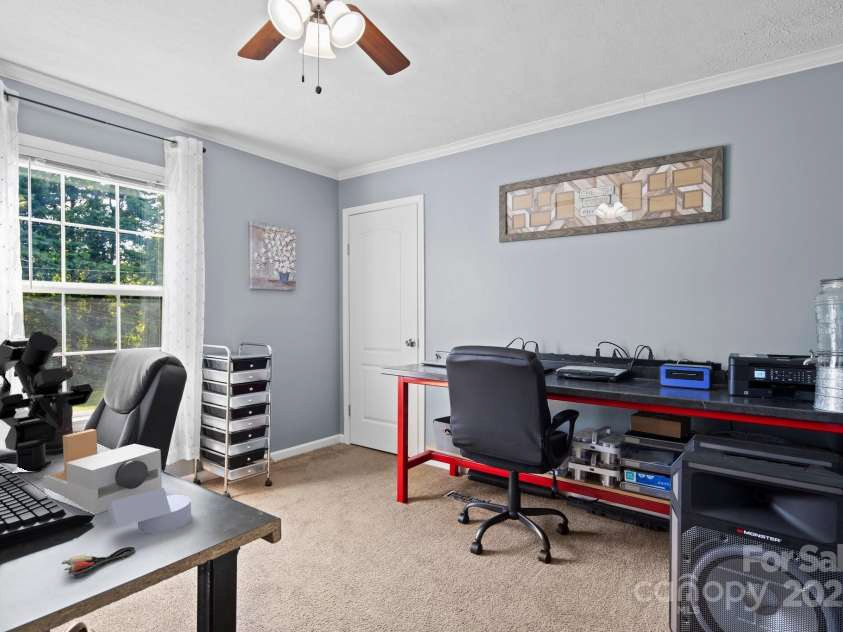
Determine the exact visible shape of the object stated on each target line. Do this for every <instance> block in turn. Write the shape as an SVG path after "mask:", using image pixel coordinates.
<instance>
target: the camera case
mask: <svg viewBox="0 0 843 632" xmlns="http://www.w3.org/2000/svg"><path fill="white" fill-rule="evenodd" d="M161 454H162V453H161V449H159V448H154V447H150V446H146V445H141V444H137V443H133V444H129V445H125V446H121V447H118V448H113V449H110V450H105V451H103V452H99V453H97V454H96V455H92V456H88V457H85V458H81V459H78V460H74V461H70V462H67V463H66V468H67V481H65V480H62V479H59V478H56V477H53V476H50V475H51V474H50V475H49V474H46V475H43V489H44V488H46V489H49V490H51V491H53V492H55V493H58V494H60V495H62V496H64V497H65V498H68V499H69V500H71V501H73V502H75V503H76V504H78V505H79V506H81V507H83V508H84V509H86V510H88V511H89V512H92V513H94V514H95V515H94V516H96V515H98V514H101V513H103V512H105V511H106V512H107V511H108V509H109V506H110V503H111V501H113V500H117V499H121V498H125V497H129V496H133V495H137V494H140V493H144V492H148V491H152V490H156V489H160V488H163V480H162V477H163V476H162V455H161Z"/></svg>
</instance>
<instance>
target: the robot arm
mask: <svg viewBox="0 0 843 632" xmlns="http://www.w3.org/2000/svg"><path fill="white" fill-rule="evenodd" d="M57 347H58V340H57V339H56V338H54V337H53V336H51V335H49V334H44V333H43V331H42V330H41V331H40V330H39V331H32V332H31V334H30V337H25V338H12V339H11V338H9V339H4V340H3V341H2V343H0V377H1V378H2V379H3V380H2V383H0V421H2V422H3V423H5V424H6V425H7V426H9V427H10V429H9V430H8V432H7V434H6V437H5V439H4V444H5V448H6V449H8V450H10V451H13V452H16V453H15V454H16V457H15V458H16V468H17V467H19V468H22V469H24V470H27V471H35V472H42V471H44V470H45V469H46V468H48V467H49V466H50V465H51V464H53V461H52V460H51V461H47V459H46V457H47V456H46V455H45V443H48V442H54V438H55V432H56V428H57V429H58V428H62V426H63V409H64V407H65V405H66V403H68V405H71V406H72V407H75V406H80V405H84V404H87V403H88V400H89V399H90V397H91V395H92V393H93V392H94V388H93V386H92V384H90V383H88V382H86V383H79V384H73V385H71V386H70V388H69V390H67V391H61V392H60V390H62V388H63V385H62V384H63V383H64V382H66V381H67V380H70V379H72V377H74V373H73V370H72V367H71V366H70V365H61V366H60V367H56V368H47V367H46V365H48V364H49V363H50V362H51V359H52V358H53V355H54V353H55V351H56V349H57ZM12 368H13V369H14V372H13V377H15V378H18V379H19V382H20V383H21V385H22V389H21V392H22V393H13V394H11V388H12V384H11V383H10V381H9V379H8V378H7V377H6V375H7V372H8V371H9V370H11V369H12ZM23 394H26V396H27V398H25V397H24V395H23ZM26 408H27V409H26ZM35 472H34V473H35Z"/></svg>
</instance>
